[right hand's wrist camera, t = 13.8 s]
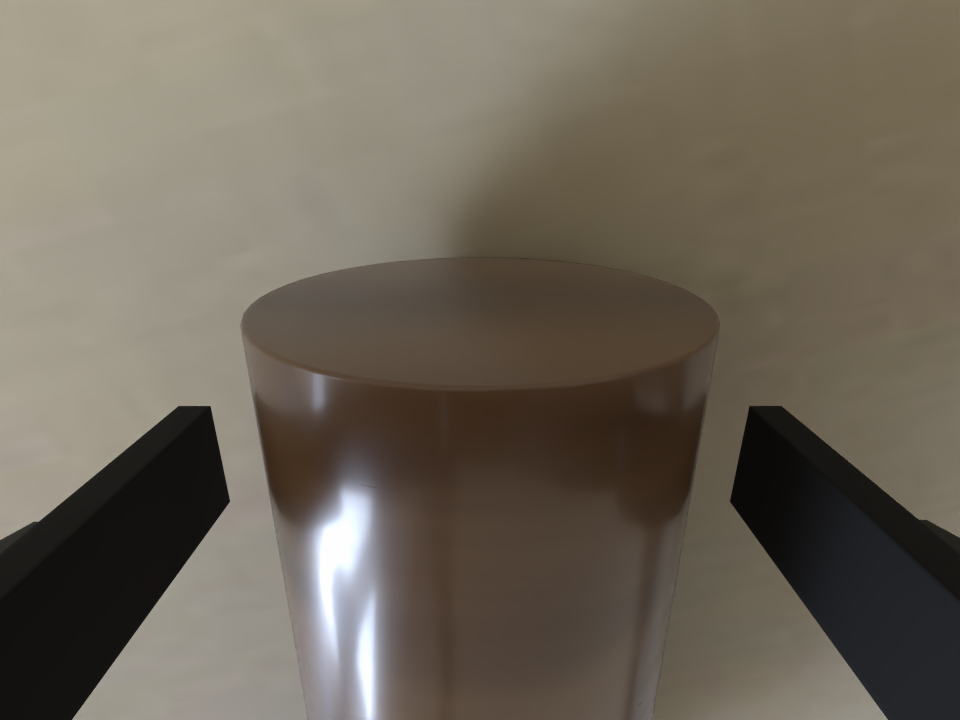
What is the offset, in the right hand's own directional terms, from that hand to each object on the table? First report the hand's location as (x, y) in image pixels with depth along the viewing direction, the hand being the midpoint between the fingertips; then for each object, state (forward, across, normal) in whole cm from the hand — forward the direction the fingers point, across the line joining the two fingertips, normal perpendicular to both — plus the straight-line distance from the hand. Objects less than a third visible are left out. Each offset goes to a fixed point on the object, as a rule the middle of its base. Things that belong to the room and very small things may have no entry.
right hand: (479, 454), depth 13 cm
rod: (+3, 0, -7) cm, 8 cm away
